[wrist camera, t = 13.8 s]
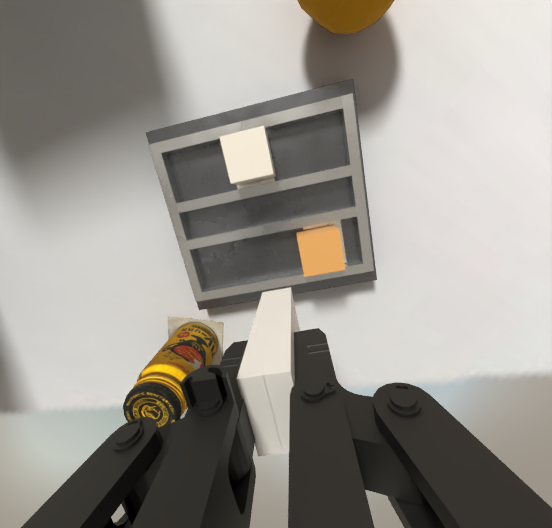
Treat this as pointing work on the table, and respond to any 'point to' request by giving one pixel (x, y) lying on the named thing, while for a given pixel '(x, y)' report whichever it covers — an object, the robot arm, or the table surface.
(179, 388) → the condiment
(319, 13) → the apple
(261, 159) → the block
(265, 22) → the table surface
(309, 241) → the fader orange
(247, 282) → the grey slotted tray
